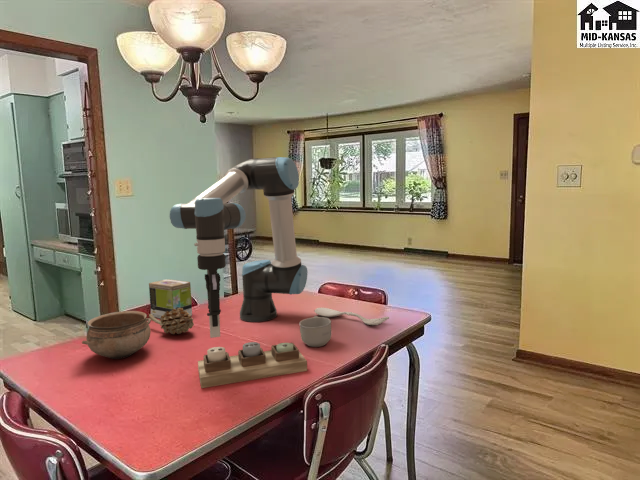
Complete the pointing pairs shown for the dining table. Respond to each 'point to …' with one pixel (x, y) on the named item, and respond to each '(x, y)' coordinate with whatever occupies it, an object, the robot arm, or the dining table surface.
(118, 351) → the cooking pot
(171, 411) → the dining table surface
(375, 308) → the dining table surface
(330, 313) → the spoon
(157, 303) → the tea box
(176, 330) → the pine cone
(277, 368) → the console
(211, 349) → the button two
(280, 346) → the button one
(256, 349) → the button three
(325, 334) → the teacup
